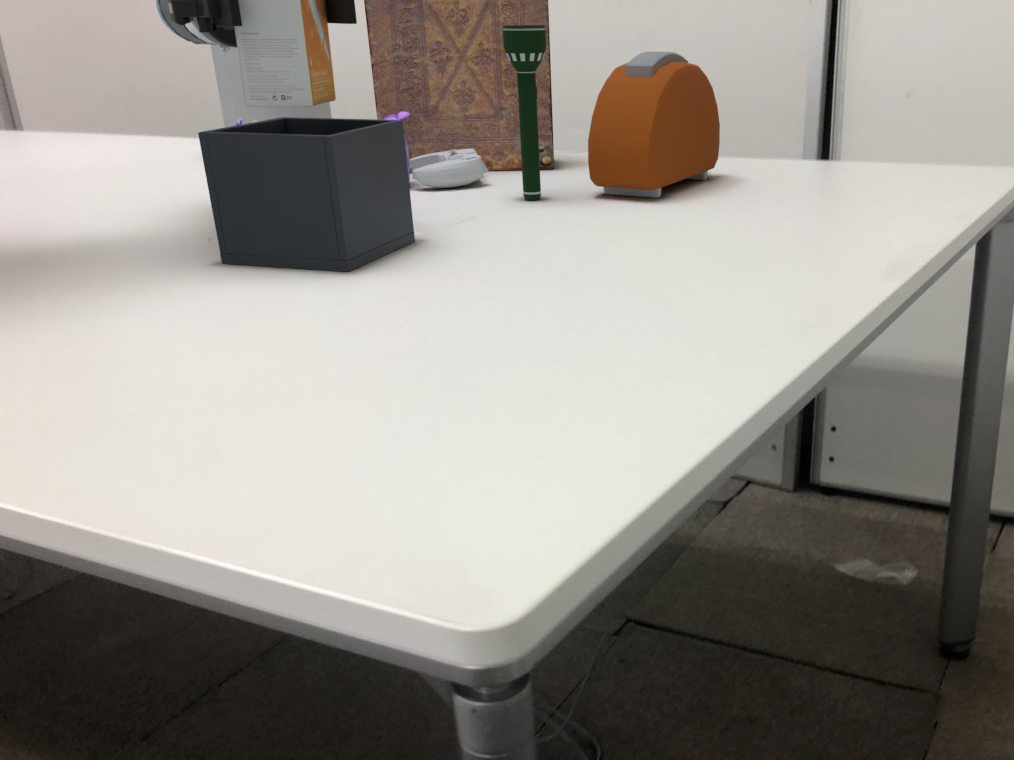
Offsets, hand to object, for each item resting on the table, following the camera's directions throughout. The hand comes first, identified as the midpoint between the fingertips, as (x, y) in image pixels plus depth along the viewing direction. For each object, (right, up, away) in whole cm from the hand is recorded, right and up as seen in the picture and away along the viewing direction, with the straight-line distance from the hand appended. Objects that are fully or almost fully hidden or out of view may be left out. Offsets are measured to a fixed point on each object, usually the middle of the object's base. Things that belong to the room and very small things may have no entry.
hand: (294, 8), depth 88 cm
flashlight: (+17, -6, +39) cm, 43 cm away
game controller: (+4, 0, +52) cm, 52 cm away
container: (-28, +11, +76) cm, 81 cm away
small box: (-2, -6, +6) cm, 9 cm away
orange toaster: (+33, -2, +48) cm, 58 cm away
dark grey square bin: (-2, -18, +13) cm, 23 cm away
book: (+4, +6, +65) cm, 65 cm away
